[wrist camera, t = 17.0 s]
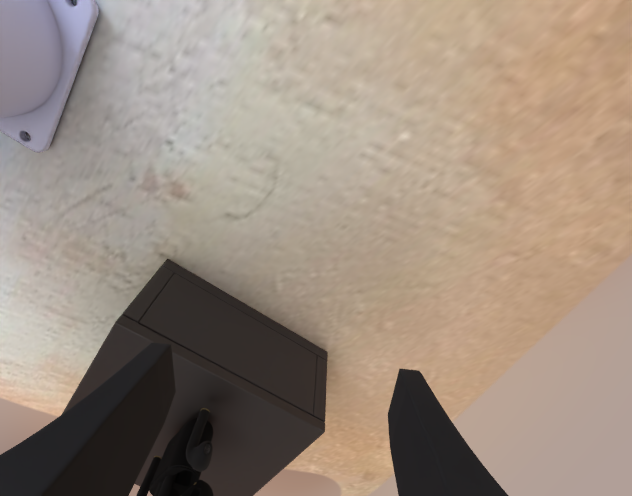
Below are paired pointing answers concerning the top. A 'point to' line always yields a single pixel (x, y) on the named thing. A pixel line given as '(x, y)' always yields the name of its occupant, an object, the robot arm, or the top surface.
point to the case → (233, 337)
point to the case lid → (213, 413)
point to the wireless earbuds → (182, 462)
